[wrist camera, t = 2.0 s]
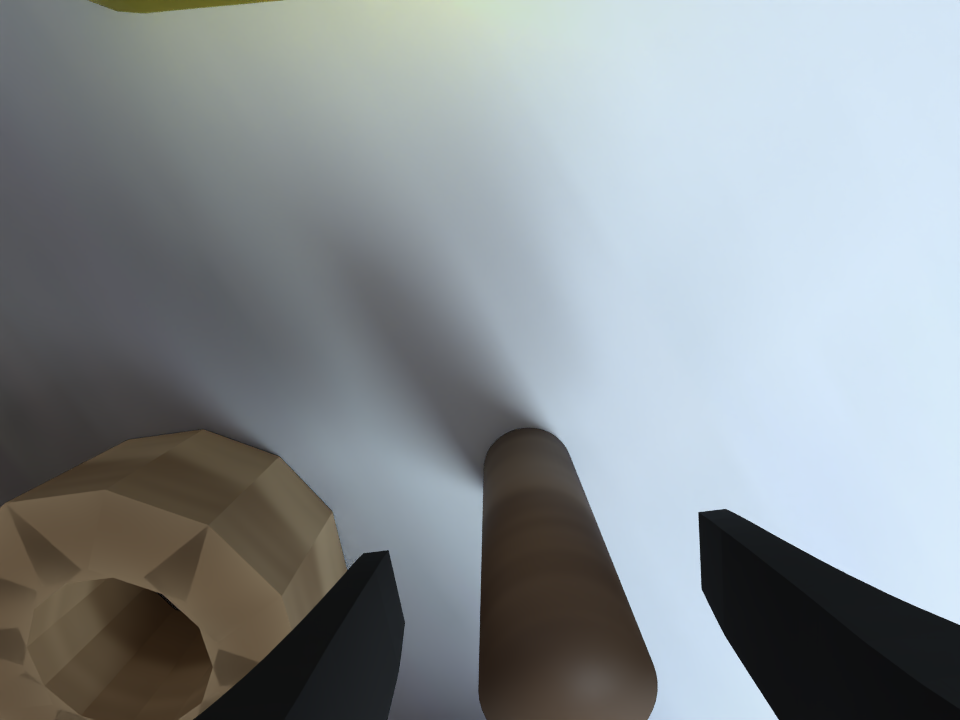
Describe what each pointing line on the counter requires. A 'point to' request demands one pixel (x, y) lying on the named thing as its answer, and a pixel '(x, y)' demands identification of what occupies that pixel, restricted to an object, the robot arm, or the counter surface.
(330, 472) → the counter surface
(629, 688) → the peg
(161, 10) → the element tile
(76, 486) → the bead
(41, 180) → the counter surface
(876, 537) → the counter surface
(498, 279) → the counter surface
